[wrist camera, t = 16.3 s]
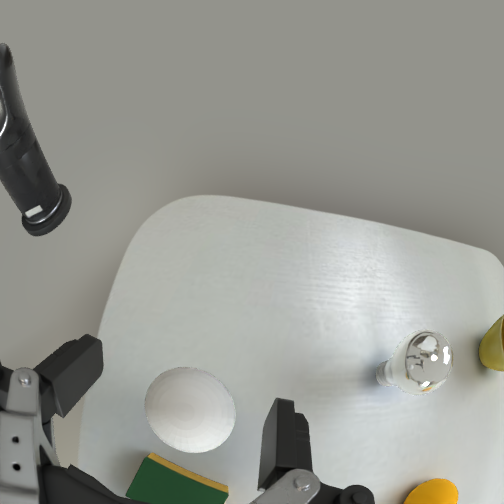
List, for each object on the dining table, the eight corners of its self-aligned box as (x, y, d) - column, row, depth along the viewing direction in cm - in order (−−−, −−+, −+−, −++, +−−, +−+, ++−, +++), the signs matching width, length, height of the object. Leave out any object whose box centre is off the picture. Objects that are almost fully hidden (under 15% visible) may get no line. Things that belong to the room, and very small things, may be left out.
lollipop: (240, 413, 25) (261, 425, 13) (197, 442, 23) (177, 477, 10) (206, 370, 28) (194, 341, 15) (163, 397, 25) (114, 391, 12)
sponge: (133, 488, 18) (124, 495, 16) (152, 452, 21) (144, 457, 19) (207, 521, 17) (205, 532, 15) (228, 486, 20) (228, 495, 18)
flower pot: (490, 389, 27) (520, 379, 21) (464, 363, 30) (496, 350, 24) (502, 344, 31) (528, 331, 25) (477, 316, 34) (504, 300, 28)
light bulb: (406, 391, 27) (471, 375, 17) (363, 408, 26) (427, 402, 16) (395, 344, 31) (455, 312, 21) (352, 356, 30) (410, 328, 20)
